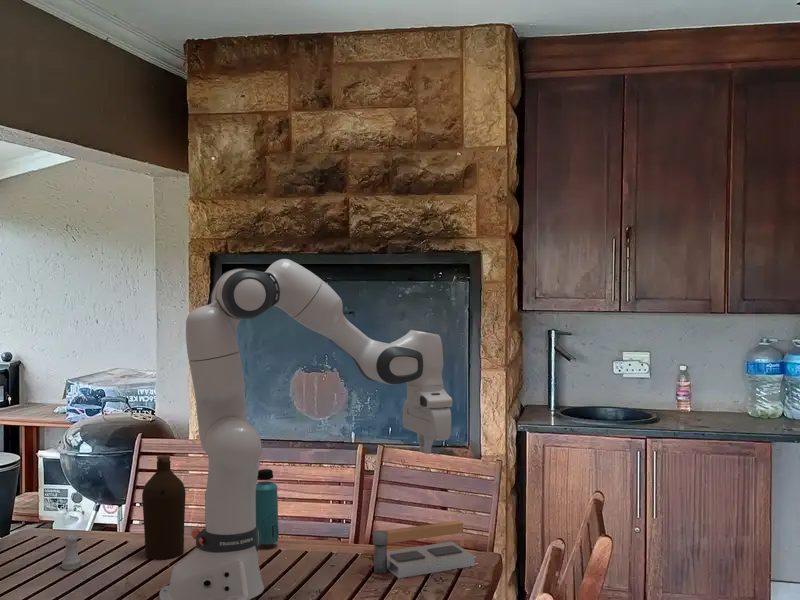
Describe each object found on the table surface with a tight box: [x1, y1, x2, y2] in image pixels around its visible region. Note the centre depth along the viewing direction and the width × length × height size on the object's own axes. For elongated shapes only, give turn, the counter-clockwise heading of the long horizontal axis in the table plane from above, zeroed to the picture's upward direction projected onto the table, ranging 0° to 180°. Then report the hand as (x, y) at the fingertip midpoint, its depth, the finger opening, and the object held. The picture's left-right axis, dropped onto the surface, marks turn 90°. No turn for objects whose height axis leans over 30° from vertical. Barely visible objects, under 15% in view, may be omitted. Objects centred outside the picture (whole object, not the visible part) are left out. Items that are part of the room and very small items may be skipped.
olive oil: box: [141, 454, 186, 561], centre depth 208 cm, size 11×11×25 cm
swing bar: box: [372, 520, 464, 545], centre depth 198 cm, size 23×4×2 cm, turn 114°
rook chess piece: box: [61, 532, 82, 571], centre depth 199 cm, size 4×4×8 cm
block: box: [373, 541, 475, 579], centre depth 198 cm, size 24×12×6 cm, turn 114°
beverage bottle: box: [256, 468, 280, 545], centre depth 214 cm, size 6×7×20 cm
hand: (425, 453), depth 199 cm, fingers closed
